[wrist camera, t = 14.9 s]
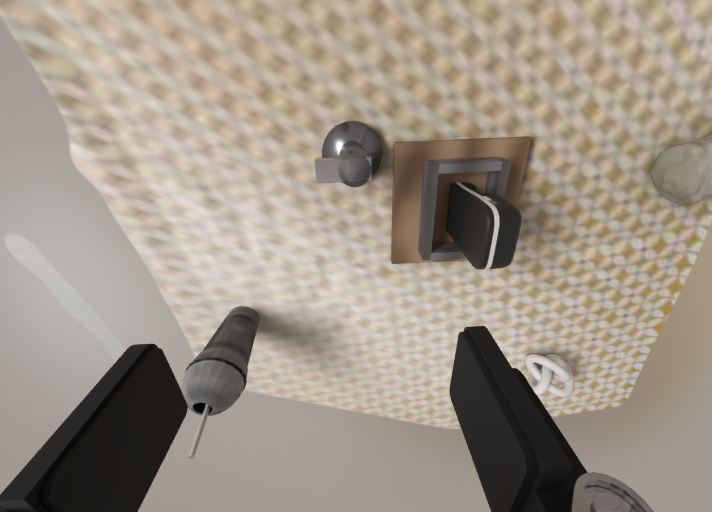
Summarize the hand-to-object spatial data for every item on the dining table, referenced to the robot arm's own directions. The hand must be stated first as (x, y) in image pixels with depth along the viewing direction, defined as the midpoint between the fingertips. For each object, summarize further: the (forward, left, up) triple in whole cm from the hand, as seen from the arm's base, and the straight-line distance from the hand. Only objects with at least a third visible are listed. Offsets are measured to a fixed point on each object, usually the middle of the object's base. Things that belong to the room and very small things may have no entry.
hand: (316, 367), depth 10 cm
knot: (-34, +35, -31) cm, 58 cm away
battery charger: (-16, +5, -30) cm, 34 cm away
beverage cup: (+16, +22, -31) cm, 41 cm away
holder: (-15, +5, -30) cm, 34 cm away
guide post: (-2, -2, -30) cm, 30 cm away
